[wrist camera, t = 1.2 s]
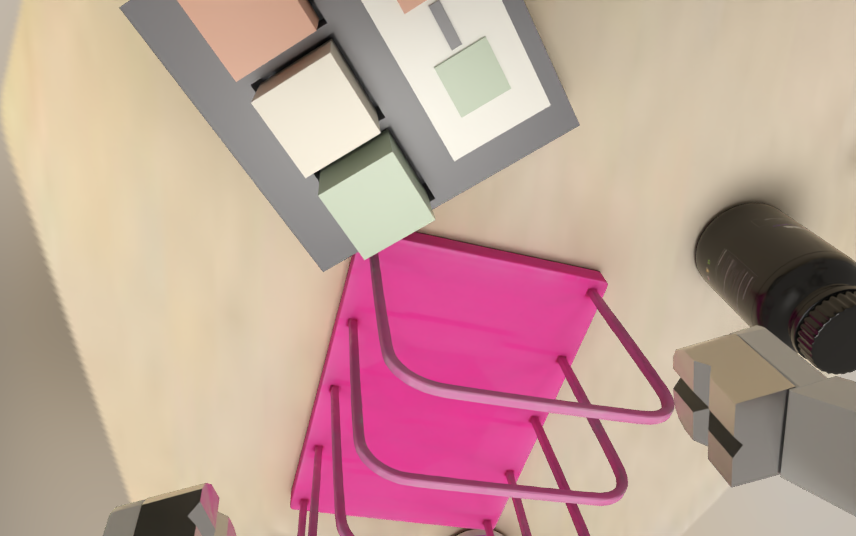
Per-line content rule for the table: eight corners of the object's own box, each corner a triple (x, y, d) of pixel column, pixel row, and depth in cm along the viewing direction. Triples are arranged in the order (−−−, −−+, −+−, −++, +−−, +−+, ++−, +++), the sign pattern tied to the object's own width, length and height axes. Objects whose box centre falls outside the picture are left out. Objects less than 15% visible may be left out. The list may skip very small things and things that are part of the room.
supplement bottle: (787, 188, 44) (927, 273, 33) (782, 272, 47) (908, 373, 37) (689, 213, 44) (798, 306, 33) (691, 295, 47) (791, 403, 37)
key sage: (387, 128, 35) (392, 151, 32) (426, 191, 37) (435, 220, 34) (320, 168, 36) (318, 195, 32) (362, 228, 38) (364, 260, 35)
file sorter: (601, 269, 45) (712, 421, 32) (489, 514, 56) (536, 706, 43) (360, 218, 41) (369, 367, 28) (290, 493, 52) (271, 697, 39)
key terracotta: (266, -68, 30) (256, -66, 27) (319, 18, 32) (316, 30, 29) (190, -17, 31) (171, -8, 27) (247, 64, 33) (236, 82, 29)
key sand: (331, 38, 33) (330, 52, 29) (376, 111, 35) (380, 133, 31) (260, 83, 33) (250, 102, 30) (309, 152, 35) (305, 178, 32)
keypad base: (421, -192, 31) (432, -208, 27) (558, 106, 39) (582, 127, 35) (142, -2, 34) (115, 9, 30) (324, 242, 42) (322, 276, 38)
